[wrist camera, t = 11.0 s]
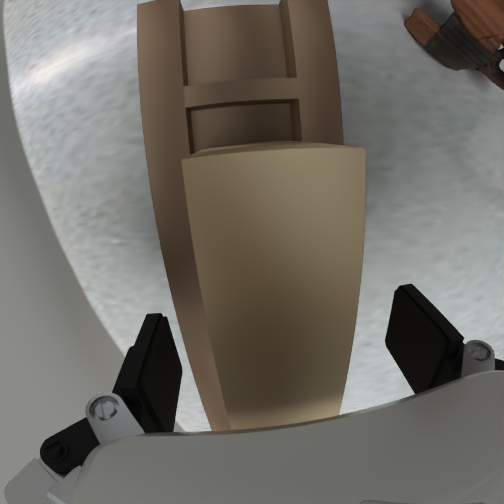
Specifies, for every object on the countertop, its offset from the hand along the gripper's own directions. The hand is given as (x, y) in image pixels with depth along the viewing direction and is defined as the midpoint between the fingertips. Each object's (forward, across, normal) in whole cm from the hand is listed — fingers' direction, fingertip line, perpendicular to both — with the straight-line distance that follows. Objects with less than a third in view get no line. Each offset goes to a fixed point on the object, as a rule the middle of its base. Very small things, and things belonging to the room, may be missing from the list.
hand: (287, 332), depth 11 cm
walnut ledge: (+7, +1, 0) cm, 8 cm away
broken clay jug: (+8, -16, -17) cm, 24 cm away
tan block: (+6, +1, 0) cm, 6 cm away
